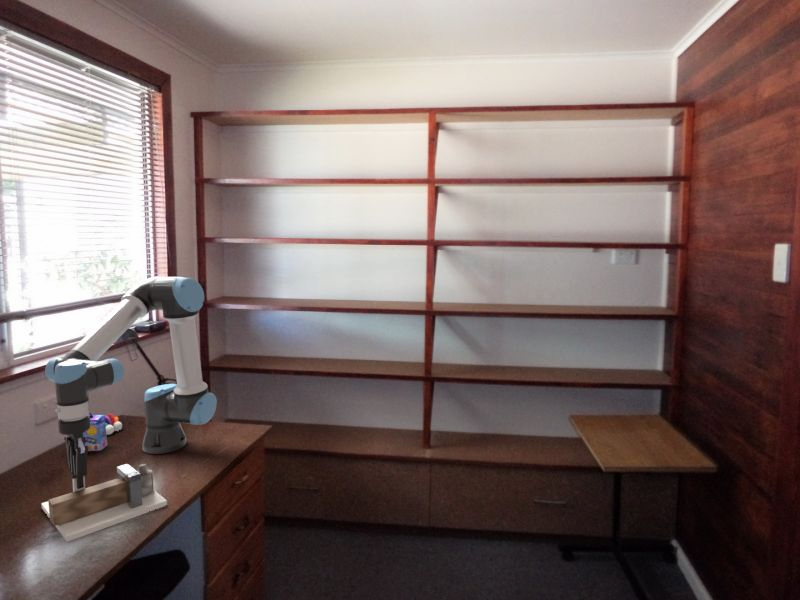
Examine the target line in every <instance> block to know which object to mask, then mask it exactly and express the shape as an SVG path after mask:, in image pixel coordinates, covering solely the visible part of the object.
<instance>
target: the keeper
mask: <svg viewBox="0 0 800 600" xmlns="http://www.w3.org/2000/svg"><path fill="white" fill-rule="evenodd" d="M116 473H117V474H118V475H119V476H121V477H123V478H124V479H125V480H126V489H127V503H128V506H129V507H130V508H131V509H133V508H135V507H138V506H141V505H142V491H141V476H140V473H139V472H138V470H136V469H135V468H134V467H133V466H131V465H130V464H129V463H125V464H121V465H118V466H116Z"/></svg>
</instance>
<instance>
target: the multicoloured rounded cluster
mask: <svg viewBox="0 0 800 600" xmlns="http://www.w3.org/2000/svg"><path fill="white" fill-rule="evenodd" d="M105 424H106V436H111V435H112V434H114V432H116V431H117V432H120V431H121V430H122V428H123V424H122V422H121V421H119V417H118V416H115V415H114V414H112V413H108V414H107V415H105ZM119 430H120V431H119Z"/></svg>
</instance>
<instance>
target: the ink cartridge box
mask: <svg viewBox="0 0 800 600" xmlns="http://www.w3.org/2000/svg"><path fill="white" fill-rule="evenodd" d="M88 415H89V416H90V429H89V430H87V431H85V432H84V433H83V437H84V436H85V439H86V443H85V446H86V445H87V446H88V451H87V452H101V451H102V450H103V449H105V448H106V447H107V446H108V439H107V436H108V435H106V424H105V416H106V414H92V411H91V412H90V413H89V414H88Z"/></svg>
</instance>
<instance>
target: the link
mask: <svg viewBox="0 0 800 600" xmlns="http://www.w3.org/2000/svg"><path fill="white" fill-rule="evenodd" d="M137 472H139V473H140V476H141V491H142V496H147V495H149V494H151V493H153V492H154V490H155V488H154V474H153V473H154V471H153V470H151V469H147V464H146V463H141V464H139V465H138V470H137ZM47 501H48V502H49V513H50V519H49V521H50V522H51V524H52V525H53V526H54V527H55V526H56V525H59V524H62V523H65V522H68V521H71V520H73V519H76V518H79V517H82V516H85V515H88V514H91V513H94V512H97V511H100V510H103V509H106V508H109V507H112V506H115V505H118V504H120V503H123V502H126V501H127V489H126V480H125V479H124V478H123V477H122V476H121V477H118V478H115V479H111V480H108V481H105V482H101V483H98V484H96V485H92V486H88V487H85V489H82V490H79V491H75V492H73V491H71V492H69V493H66V494H63V495H59V496H56V497H53V498H50V499H47Z"/></svg>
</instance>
